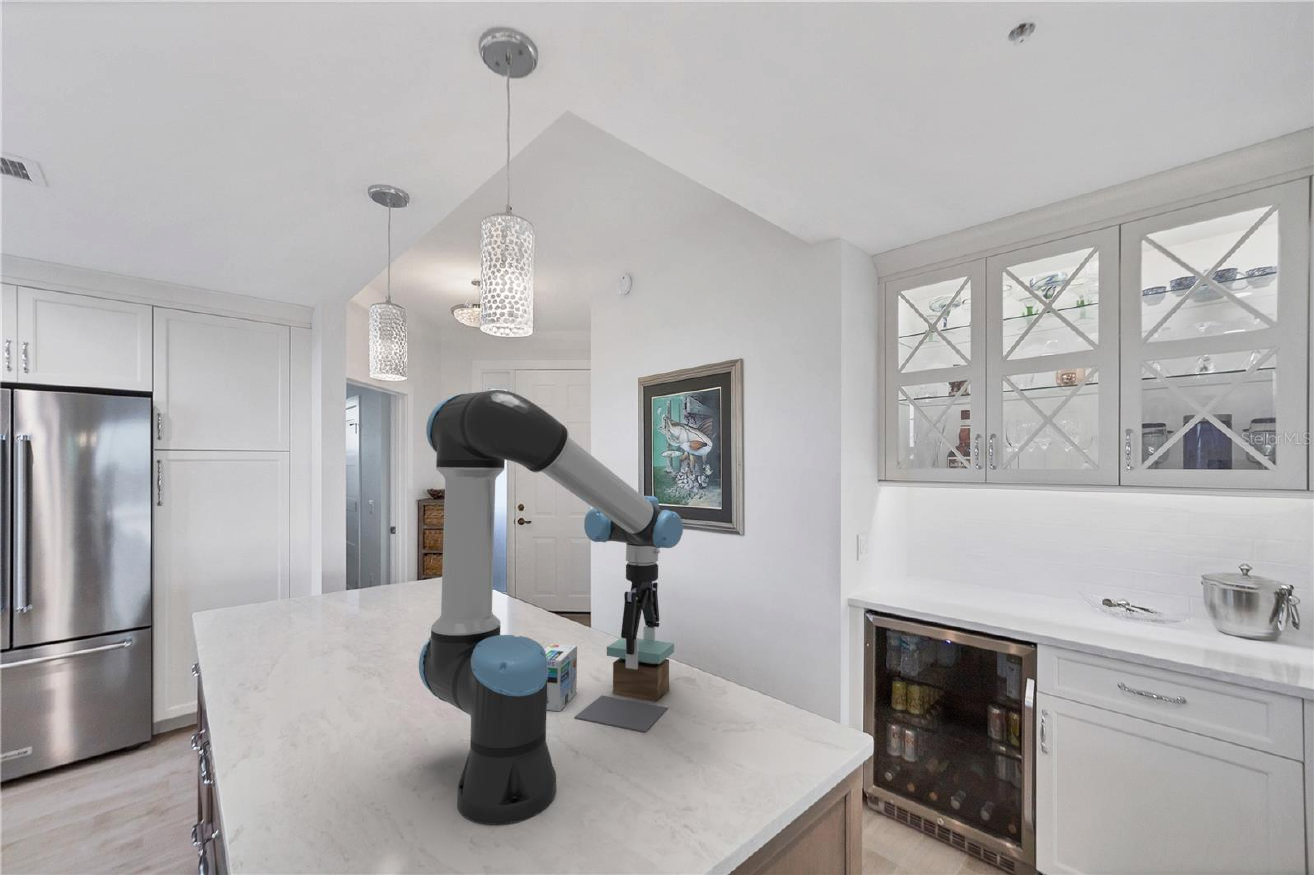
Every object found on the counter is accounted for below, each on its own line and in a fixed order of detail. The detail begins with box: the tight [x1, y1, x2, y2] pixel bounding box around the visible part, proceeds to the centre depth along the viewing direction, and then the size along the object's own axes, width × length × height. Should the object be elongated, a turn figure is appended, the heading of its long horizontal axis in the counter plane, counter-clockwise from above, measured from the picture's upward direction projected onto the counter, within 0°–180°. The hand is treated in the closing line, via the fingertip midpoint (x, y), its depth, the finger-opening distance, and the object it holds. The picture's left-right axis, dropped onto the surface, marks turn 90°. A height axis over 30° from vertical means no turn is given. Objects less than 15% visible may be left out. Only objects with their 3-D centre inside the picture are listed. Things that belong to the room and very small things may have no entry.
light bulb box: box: [544, 643, 578, 712], centre depth 127 cm, size 11×7×11 cm, turn 168°
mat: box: [573, 695, 669, 734], centre depth 121 cm, size 12×16×1 cm
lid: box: [606, 637, 675, 664], centre depth 132 cm, size 9×13×3 cm
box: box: [612, 658, 670, 703], centre depth 132 cm, size 7×11×7 cm, turn 67°
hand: (640, 661), depth 132 cm, fingers closed on lid, 9 cm apart
